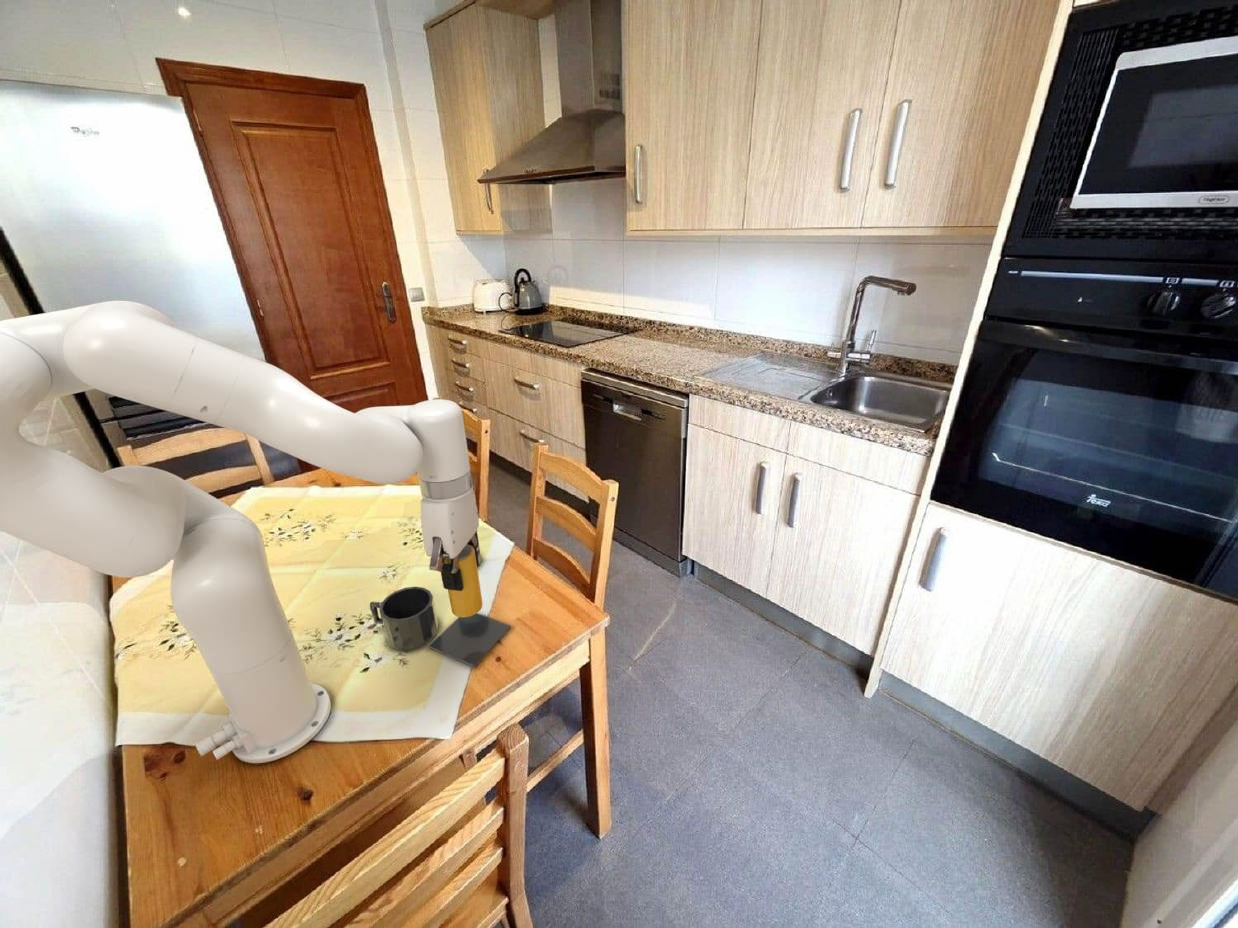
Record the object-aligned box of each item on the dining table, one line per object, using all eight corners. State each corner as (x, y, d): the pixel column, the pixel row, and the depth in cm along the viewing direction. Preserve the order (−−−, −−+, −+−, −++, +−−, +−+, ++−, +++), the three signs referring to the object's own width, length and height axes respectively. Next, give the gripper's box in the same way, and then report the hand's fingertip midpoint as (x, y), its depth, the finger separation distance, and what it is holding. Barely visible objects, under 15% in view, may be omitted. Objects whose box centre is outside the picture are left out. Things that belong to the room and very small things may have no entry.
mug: (446, 619, 94) (441, 589, 91) (423, 654, 86) (416, 623, 83) (390, 611, 96) (382, 582, 93) (361, 645, 88) (353, 614, 85)
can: (463, 622, 83) (453, 565, 78) (445, 607, 86) (434, 552, 81) (488, 605, 87) (480, 550, 82) (470, 592, 90) (462, 538, 85)
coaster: (475, 668, 84) (474, 665, 84) (429, 648, 88) (428, 645, 87) (510, 628, 92) (510, 625, 92) (467, 611, 96) (467, 609, 96)
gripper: (449, 455, 84) (463, 545, 92) (391, 508, 69) (414, 609, 77) (491, 459, 83) (502, 549, 91) (442, 513, 68) (460, 615, 76)
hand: (462, 576), depth 84 cm, fingers closed on can, 5 cm apart
